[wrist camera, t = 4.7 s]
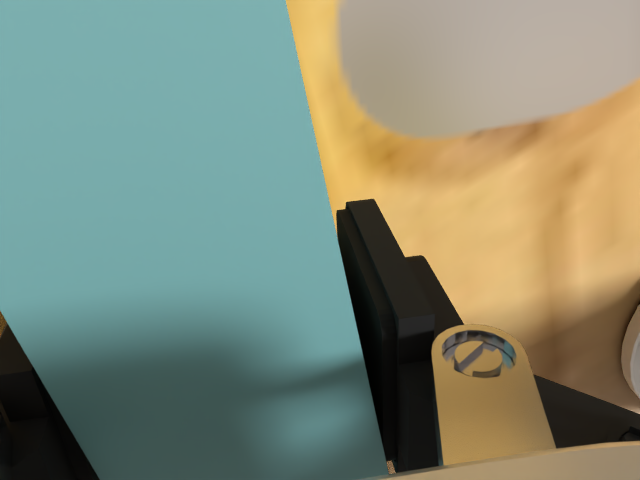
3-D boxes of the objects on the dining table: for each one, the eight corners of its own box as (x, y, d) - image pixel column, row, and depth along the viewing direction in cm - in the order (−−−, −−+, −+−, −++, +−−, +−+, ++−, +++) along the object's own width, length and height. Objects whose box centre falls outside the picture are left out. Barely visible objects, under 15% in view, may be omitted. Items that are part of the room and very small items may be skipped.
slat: (141, -531, 7) (35, -1146, 3) (392, 540, 18) (446, 736, 14) (-184, -461, 7) (-775, -1001, 3) (264, 575, 18) (278, 783, 14)
